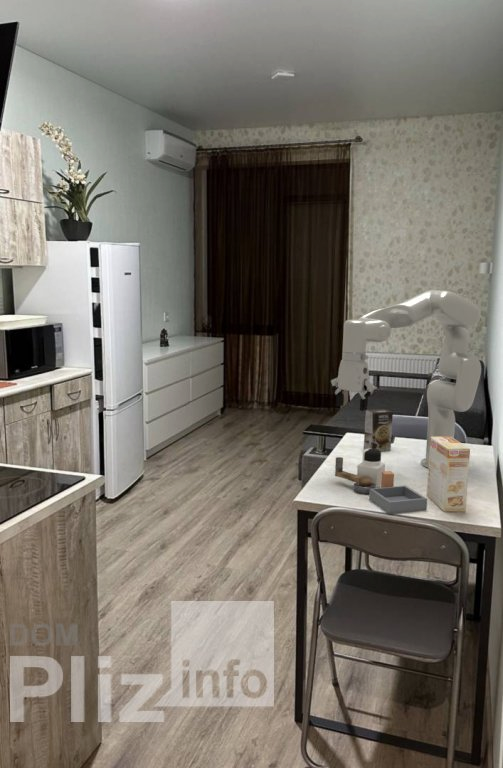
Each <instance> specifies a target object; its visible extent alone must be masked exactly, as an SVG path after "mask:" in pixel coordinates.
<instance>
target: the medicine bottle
mask: <svg viewBox="0 0 503 768" xmlns="http://www.w3.org/2000/svg"><path fill="white" fill-rule="evenodd" d="M361 458H362V460H361V461H362V462H360V463H358V464H357V467H356V468H357V469H356V475H358V476H367V477H370V478H371V483H373V484H375V485H376V488H381V481H382V471H386V464H385V463H384V462H382V461H381V460H382V452H381V451H379V450H377V449H372V448H369V449H363V451H362V457H361Z"/></svg>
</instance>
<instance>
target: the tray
mask: <svg viewBox="0 0 503 768" xmlns="http://www.w3.org/2000/svg"><path fill="white" fill-rule="evenodd" d="M368 495H369V496H368V500H369V501H370V502H372V503H373V504H375V505H376V506H377V507H378V508H381V509H382V511H384V512H386V513H387V514H389V515H390V514H398V513H409V512H417V511H427V508H428V507H427V505H428V498H427V497H425V495H424V496H423V495H422V494H420V493H419V492H418V491H415V490H413V489H412V488H410V487H409V486H407V485H397V486H395V485H394V487H383V488H381V487H378V488H372V489H370V491H369V494H368Z"/></svg>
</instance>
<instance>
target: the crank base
mask: <svg viewBox="0 0 503 768" xmlns="http://www.w3.org/2000/svg"><path fill="white" fill-rule="evenodd" d="M372 488H376V485H375V484H373V483H371V485H370V486H361V485H359V483H357V482H354V483H353V492H354V493H356V494H359V495H366V496H367V495H369V491H370V489H372Z"/></svg>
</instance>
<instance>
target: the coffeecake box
mask: <svg viewBox="0 0 503 768" xmlns="http://www.w3.org/2000/svg"><path fill="white" fill-rule="evenodd" d="M470 455H471V448H470V447H468V446H466V445H464V444H463V443H462V442H460V441H459V440H458V439H455V437H454V438H452V437H431V438H430V453H429V468H427V470H428V471H427V486H426V487H427V488H426V496H427V497H428V498H429V499H430V500H431V501H432V502H433V503H434V504H436V505H437V507H438V508H439V509H441V510H442V511H443V513H445V512H447V513H448V512H451V513H452V512H455V513H456V512H457V513H459V512H462V513H463V512H466V508H467V507H466V506H467V496H468V494H467V493H468V482H469V481H468V480H469V470H470V469H469V467H470Z"/></svg>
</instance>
